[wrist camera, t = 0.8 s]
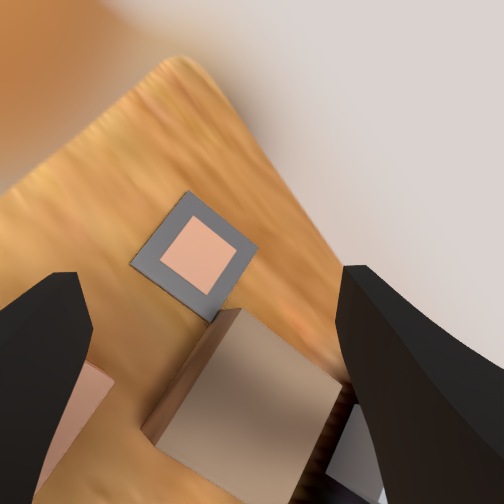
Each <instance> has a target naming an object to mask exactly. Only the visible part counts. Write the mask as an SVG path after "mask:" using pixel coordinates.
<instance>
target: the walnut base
mask: <svg viewBox="0 0 504 504" xmlns="http://www.w3.org/2000/svg"><path fill="white" fill-rule="evenodd" d="M341 388H342V385H341V384H339V383H338V382H337V381H336V380H334V379H333V378H332V377H330V376H329V375H328V374H327V373H325V372H324V371H323V370H321V369H320V368H319V367H318V366H316V365H315V364H314V363H312V362H311V361H310V360H309V359H307V358H306V357H305V356H304V355H302V354H301V353H300V352H298V351H297V350H296V349H295V348H293V347H292V346H291V345H289V344H288V343H287V342H286V341H284V340H283V339H282V338H280V337H279V336H278V335H277V334H275V333H274V332H273V331H272V330H270V329H269V328H268V327H266V326H265V325H264V324H263V323H261V322H260V321H259V320H257V319H256V318H255V317H254V316H252V315H251V314H250V313H248V312H247V311H246V310H245V309H243V308H237V309H228V310H220V311H218V312H217V314H216V315H215V317H214V319H213V320H212V322H211V323H210V324H209V326H208V327H207V329H206V331H205V332H204V334H203V335H202V337H201V338H200V340H199V341H198V343H197V344H196V346H195V347H194V349H193V350H192V352H191V353H190V355H189V356H188V358H187V359H186V361H185V362H184V364H183V365H182V367H181V369H180V370H179V372H178V373H177V375H176V376H175V378H174V379H173V381H172V382H171V384H170V385H169V387H168V388H167V390H166V391H165V393H164V394H163V396H162V397H161V399H160V400H159V402H158V403H157V405H156V407H155V408H154V410H153V411H152V413H151V414H150V416H149V417H148V419H147V420H146V422H145V423H144V425H143V426H142V428H141V430H142V432H143V433H144V434H145V435H146V437H147V438H148V439H149V440H150V442H151V443H152V444H153V445H154V447H156V448H157V449H159V450H161V451H162V452H164V453H165V454H167V455H169V456H170V457H172V458H173V459H175V460H177V461H178V462H180V463H181V464H183V465H185V466H186V467H188V468H189V469H191V470H193V471H194V472H196V473H197V474H199V475H201V476H202V477H204V478H205V479H207V480H209V481H210V482H212V483H214V484H215V485H217V486H218V487H220V488H222V489H223V490H225V491H226V492H228V493H230V494H231V495H233V496H234V497H236V498H238V499H239V500H241V501H242V502H244V503H246V504H288V502H289V500H290V498H291V496H292V493H293V491H294V489H295V487H296V485H297V483H298V481H299V478H300V476H301V474H302V472H303V470H304V468H305V465H306V463H307V461H308V459H309V457H310V455H311V452H312V450H313V448H314V446H315V444H316V442H317V440H318V437H319V435H320V433H321V431H322V429H323V427H324V424H325V422H326V420H327V418H328V416H329V414H330V412H331V409H332V407H333V405H334V403H335V401H336V399H337V396H338V394H339V392H340V390H341Z"/></svg>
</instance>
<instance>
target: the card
mask: <svg viewBox="0 0 504 504" xmlns="http://www.w3.org/2000/svg"><path fill="white" fill-rule="evenodd" d="M257 250H258V247H257V246H256V245H255V244H253V243H252V242H251V241H250V240H249V239H247V238H246V237H245V236H244V235H243V234H241V233H240V232H239V231H238V230H236V229H235V228H234V227H233V226H232V225H230V224H229V223H228V222H227V221H226V220H224V219H223V218H222V217H221V216H220V215H218V214H217V213H216V212H215V211H213V210H212V209H211V208H210V207H209V206H207V205H206V204H205V203H204V202H203V201H201V200H200V199H199V198H198V197H196V196H195V195H194V194H193V193H192V192H190V191H189V190H188V191H187V192H186V194H185V195H184V196H183V197H182V199H181V200H180V201H179V202H178V204H177V205H176V206H175V207H174V209H173V210H172V211H171V213H170V214H169V215H168V216H167V218H166V219H165V220H164V221H163V223H162V224H161V225H160V226H159V228H158V229H157V230H156V231H155V233H154V234H153V235H152V236H151V238H150V239H149V240H148V241H147V243H146V244H145V245H144V247H143V248H142V249H141V250H140V252H139V253H138V254H137V255H136V257H135V258H134V259H133V260H132V262H131V263H130V264H129V265H130V266H132V267H133V268H134V269H136V270H137V271H138V272H140V273H141V274H143V275H144V276H145V277H147V278H148V279H149V280H151V281H152V282H153V283H155V284H156V285H158V286H159V287H160V288H162V289H163V290H164V291H166V292H167V293H169V294H170V295H171V296H173V297H174V298H175V299H177V300H178V301H179V302H181V303H182V304H184V305H185V306H186V307H188V308H189V309H190V310H192V311H193V312H195V313H196V314H197V315H199V316H200V317H201V318H203V319H204V320H205V321H207V322H208V323H211V322H212V320H213V319H214V317H215V315H216V314H217V312H218V311H219V309H220V308H221V306H222V304H223V303H224V301H225V300H226V298H227V297H228V295H229V294H230V292H231V290H232V289H233V287H234V286H235V284H236V283H237V281H238V280H239V278H240V276H241V275H242V273H243V272H244V270H245V269H246V267H247V266H248V264H249V262H250V261H251V259H252V258H253V256H254V255H255V253H256V252H257Z"/></svg>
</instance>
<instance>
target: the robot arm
mask: <svg viewBox="0 0 504 504" xmlns="http://www.w3.org/2000/svg"><path fill="white" fill-rule="evenodd" d="M335 324H336V329H337V334H338V339H339V343H340V348H341V352H342V356H343V359H344V362H345V365H346V367H347V370H348V373H349V376H350V379H351V382H352V384H353V387H354V390H355V393H356V396H357V398H358V401H359V404H360V407H361V410H362V412H363V415H364V418H365V421H366V424H367V426H368V429H369V433H370V436H371V439H372V442H373V446H374V450H375V454H376V458H377V462H378V466H379V470H380V474H381V478H382V482H383V486H384V490H385V495H386V499H387V503H388V504H504V369H502V368H500V367H499V366H497V365H495V364H494V363H492V362H491V361H489V360H488V359H486V358H484V357H483V356H481V355H480V354H478V353H477V352H475V351H474V350H472V349H470V348H469V347H467V346H466V345H464V344H463V343H462V342H460V341H459V340H457V339H456V338H454V337H453V336H452V335H450V334H449V333H447V332H446V331H445V330H444V329H442V328H441V327H439V326H438V325H437V324H435V323H434V322H433V321H431V320H430V319H429V318H428V317H426V316H425V315H424V314H423V313H421V312H420V311H419V310H418V309H416V308H415V307H414V306H413V305H412V304H410V303H409V302H408V301H407V300H406V299H404V298H403V297H402V296H401V295H400V294H399V293H397V292H396V291H395V290H394V289H393V288H392V287H390V286H389V285H388V284H387V283H386V282H385V281H384V280H383V279H381V278H380V277H379V276H378V275H377V274H376V273H375V272H373V271H372V270H371V269H370V268H369V267H367V266H366V265H353V266H344V267H343V273H342V280H341V286H340V293H339V299H338V306H337V312H336V319H335ZM92 332H93V326H92V323H91V319H90V316H89V312H88V309H87V306H86V302H85V299H84V295H83V292H82V289H81V285H80V282H79V278H78V275H77V272H58V273H52V274H51V275H49V276H47V277H46V278H44V279H43V280H42V281H40V282H39V283H37V284H36V285H35V286H33V287H32V288H31V289H29V290H28V291H27V292H25V293H24V294H22V295H21V296H20V297H18V298H17V299H16V300H14V301H13V302H12V303H10V304H9V305H8V306H6V307H5V308H4V309H2V310H1V311H0V504H31V503H32V500H33V496H34V493H35V490H36V487H37V483H38V480H39V477H40V474H41V470H42V467H43V464H44V461H45V458H46V455H47V452H48V450H49V447H50V444H51V442H52V439H53V437H54V434H55V432H56V430H57V427H58V425H59V423H60V420H61V418H62V415H63V413H64V411H65V408H66V406H67V404H68V401H69V399H70V396H71V394H72V392H73V389H74V387H75V385H76V382H77V380H78V377H79V375H80V372H81V370H82V367H83V365H84V362H85V359H86V355H87V352H88V348H89V344H90V340H91V336H92Z"/></svg>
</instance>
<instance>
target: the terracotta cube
mask: <svg viewBox="0 0 504 504" xmlns="http://www.w3.org/2000/svg"><path fill="white" fill-rule="evenodd" d="M114 383H115V381H114V380H113V379H112V378H111V377H110V376H109V375H108V374H107V373H106V372H105V371H103V370H102V369H100V368H99V367H97V366H96V365H94V364H92V363H91V362H89V361H88V360H86V359H85V362H84V365H83V367H82V370H81V372H80V375H79V377H78V380H77V382H76V385H75V387H74V389H73V392H72V394H71V396H70V399H69V401H68V404H67V406H66V408H65V411H64V413H63V415H62V418H61V420H60V423H59V425H58V427H57V430H56V432H55V434H54V437H53V439H52V442H51V444H50V447H49V450H48V452H47V455H46V458H45V461H44V464H43V467H42V470H41V474H40V477H39V480H38V483H37V487H36V490H35V493H34V496H35V495H36V493H37V492H38V491H39V489H40V488H41V486H42V485H43V484H44V482H45V481H46V479H47V478H48V476H49V475H50V474H51V472H52V471H53V469H54V468H55V467H56V465H57V464H58V462H59V461H60V459H61V458H62V457H63V455H64V454H65V452H66V451H67V450H68V448H69V447H70V445H71V444H72V442H73V441H74V440H75V438H76V437H77V435H78V434H79V433H80V431H81V430H82V428H83V427H84V426H85V424H86V423H87V421H88V420H89V418H90V417H91V416H92V414H93V413H94V411H95V410H96V409H97V407H98V406H99V404H100V403H101V401H102V400H103V399H104V397H105V396H106V394H107V393H108V392H109V390H110V389H111V387H112V386H113V384H114ZM34 496H33V498H34Z"/></svg>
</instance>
